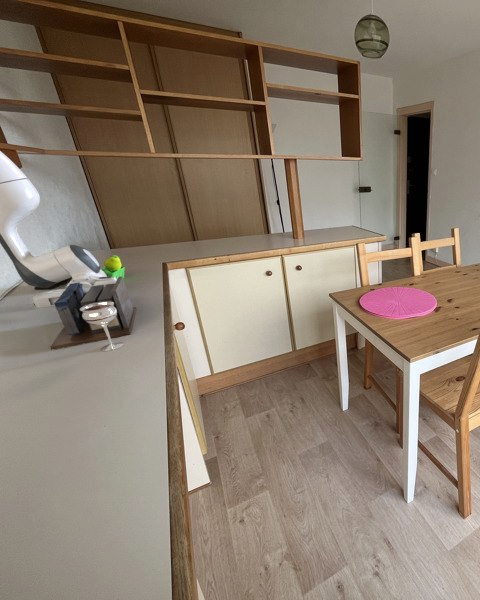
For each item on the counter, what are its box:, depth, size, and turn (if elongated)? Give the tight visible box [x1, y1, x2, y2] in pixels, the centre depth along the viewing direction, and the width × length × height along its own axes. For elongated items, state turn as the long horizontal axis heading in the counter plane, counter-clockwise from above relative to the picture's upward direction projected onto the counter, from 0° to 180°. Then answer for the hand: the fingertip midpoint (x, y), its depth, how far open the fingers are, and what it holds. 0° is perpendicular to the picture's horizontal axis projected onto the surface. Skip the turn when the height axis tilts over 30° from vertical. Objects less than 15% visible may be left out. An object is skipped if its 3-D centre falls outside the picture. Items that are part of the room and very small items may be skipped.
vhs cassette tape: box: [54, 283, 86, 335], centre depth 93 cm, size 18×3×10 cm, turn 33°
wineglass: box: [80, 301, 125, 352], centre depth 83 cm, size 7×7×12 cm
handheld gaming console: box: [33, 277, 72, 290], centre depth 129 cm, size 12×7×10 cm
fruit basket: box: [100, 254, 126, 279], centre depth 134 cm, size 11×9×11 cm
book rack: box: [50, 276, 138, 351], centre depth 94 cm, size 16×22×13 cm
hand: (76, 302), depth 95 cm, fingers closed on vhs cassette tape, 2 cm apart
